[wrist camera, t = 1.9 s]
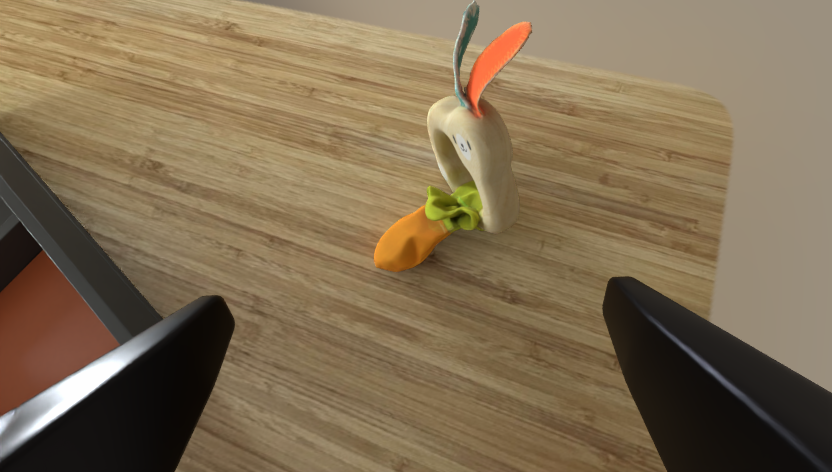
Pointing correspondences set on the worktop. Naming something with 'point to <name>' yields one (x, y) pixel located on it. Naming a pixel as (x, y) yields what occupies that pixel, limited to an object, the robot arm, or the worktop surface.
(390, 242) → the rattle
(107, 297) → the tray
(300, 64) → the worktop surface
